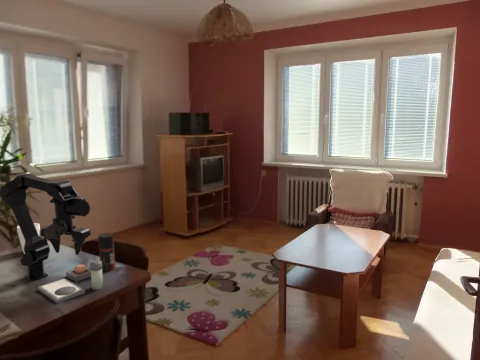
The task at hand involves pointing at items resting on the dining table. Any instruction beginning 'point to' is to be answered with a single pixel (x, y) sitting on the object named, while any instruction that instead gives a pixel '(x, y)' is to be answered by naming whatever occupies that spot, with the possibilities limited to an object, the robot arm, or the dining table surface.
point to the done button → (80, 269)
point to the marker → (96, 274)
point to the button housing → (75, 277)
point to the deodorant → (107, 251)
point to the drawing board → (61, 290)
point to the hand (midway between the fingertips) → (67, 253)
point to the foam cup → (23, 236)
